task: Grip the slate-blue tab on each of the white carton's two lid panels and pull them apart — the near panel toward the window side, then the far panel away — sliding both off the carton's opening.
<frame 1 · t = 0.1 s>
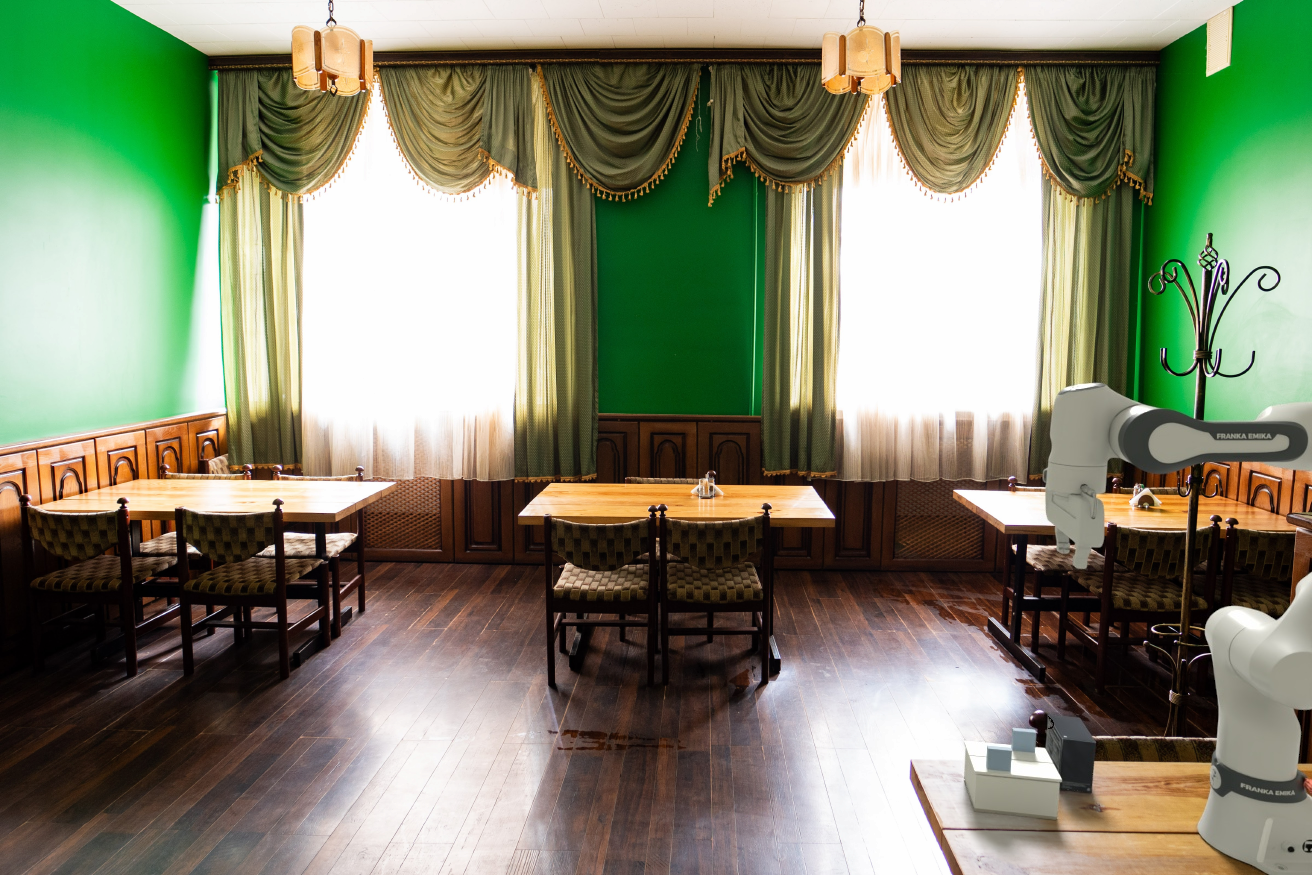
hand: (1070, 559, 139), 48 cm above the table, fingers open, 8 cm apart
lid panel near: (1015, 758, 148), point 10 cm above the table, slide at 0.0 cm
lid panel far: (1007, 742, 154), point 10 cm above the table, slide at 0.0 cm
carton: (1008, 798, 152), on the table
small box: (1067, 778, 159), on the table
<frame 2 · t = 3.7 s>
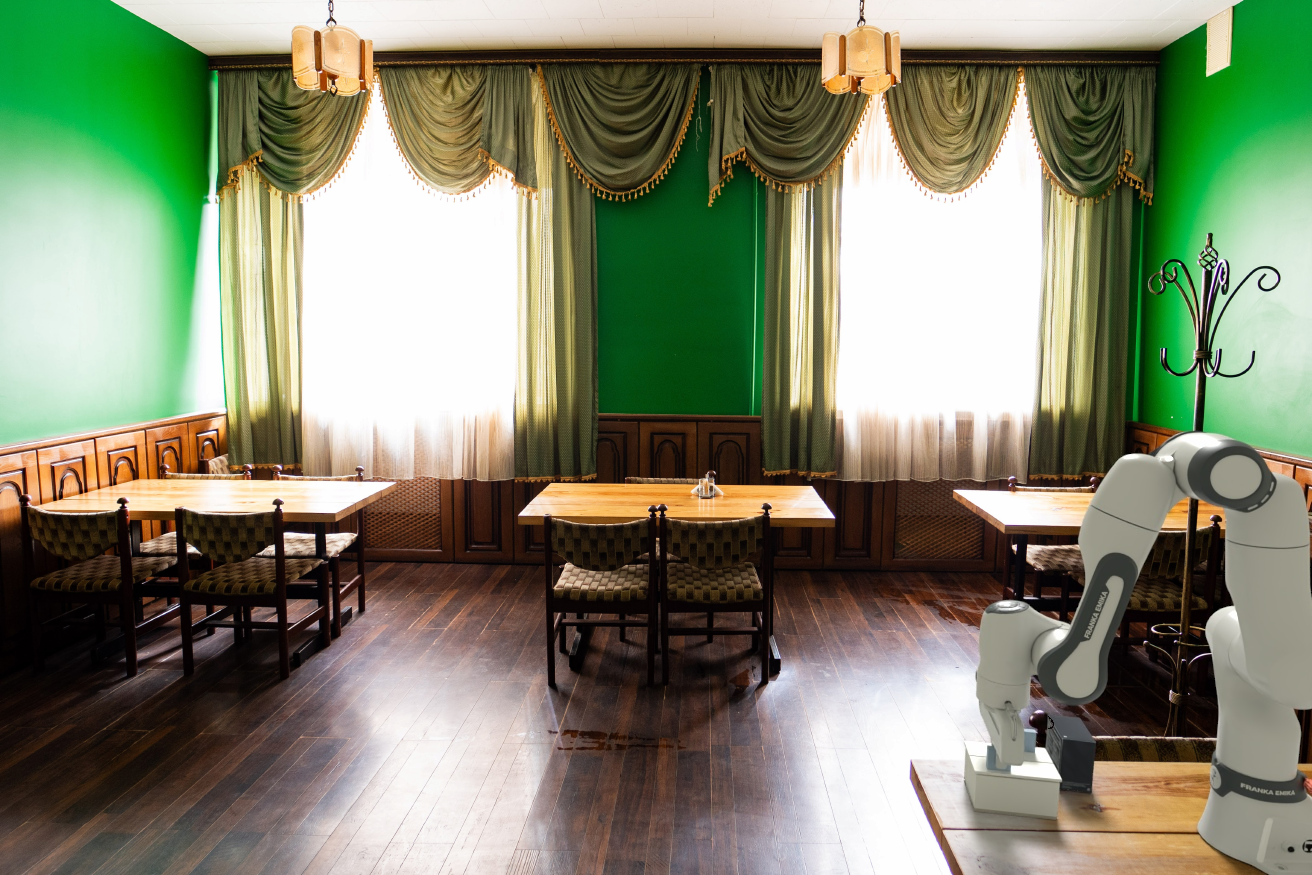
hand: (998, 762, 148), 9 cm above the table, fingers closed on lid panel near
lid panel near: (1015, 758, 148), point 10 cm above the table, slide at 0.0 cm, touching gripper
everything else where it was.
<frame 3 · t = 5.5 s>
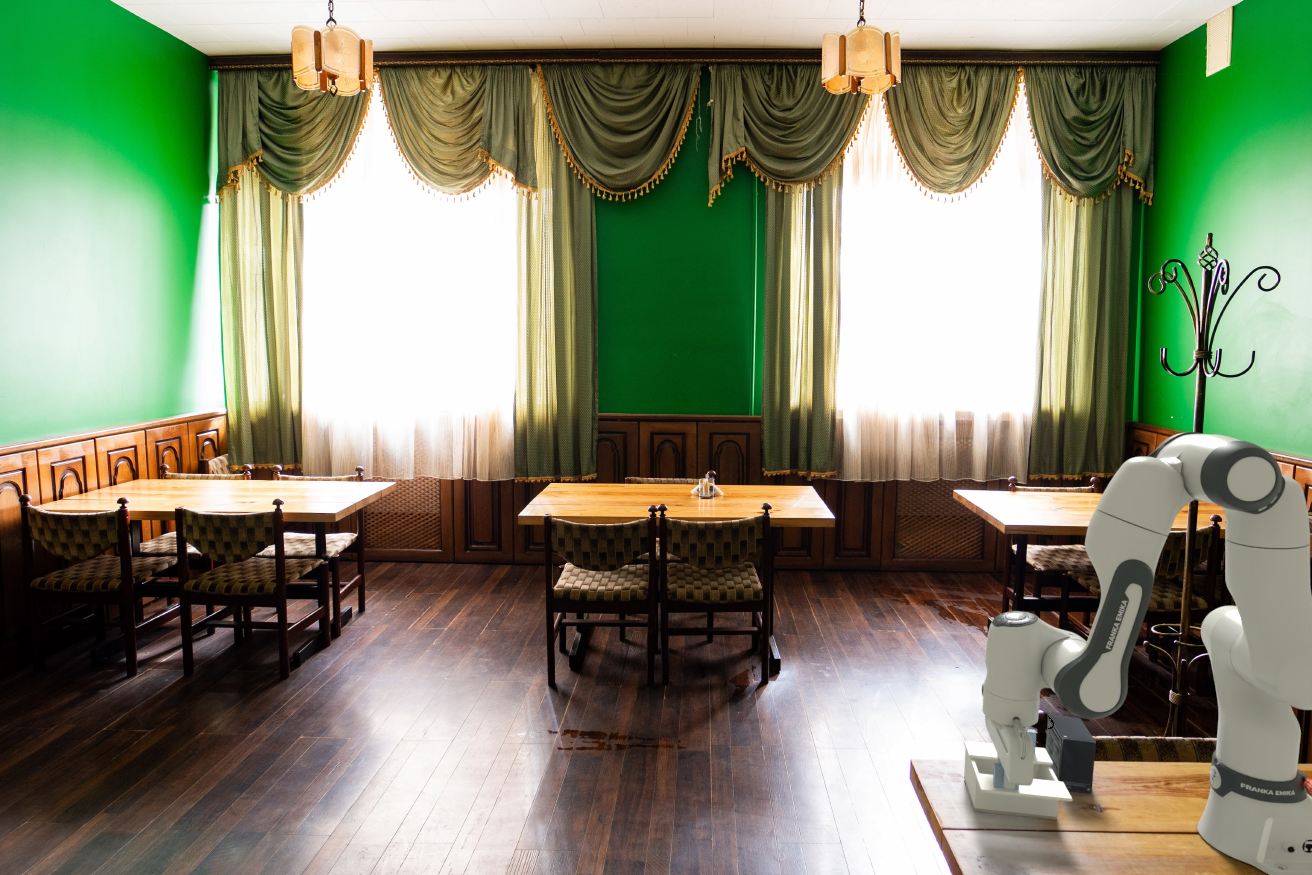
hand: (1006, 781, 142), 9 cm above the table, fingers closed
lid panel near: (1023, 775, 142), point 10 cm above the table, slide at 6.1 cm
everything else where it was.
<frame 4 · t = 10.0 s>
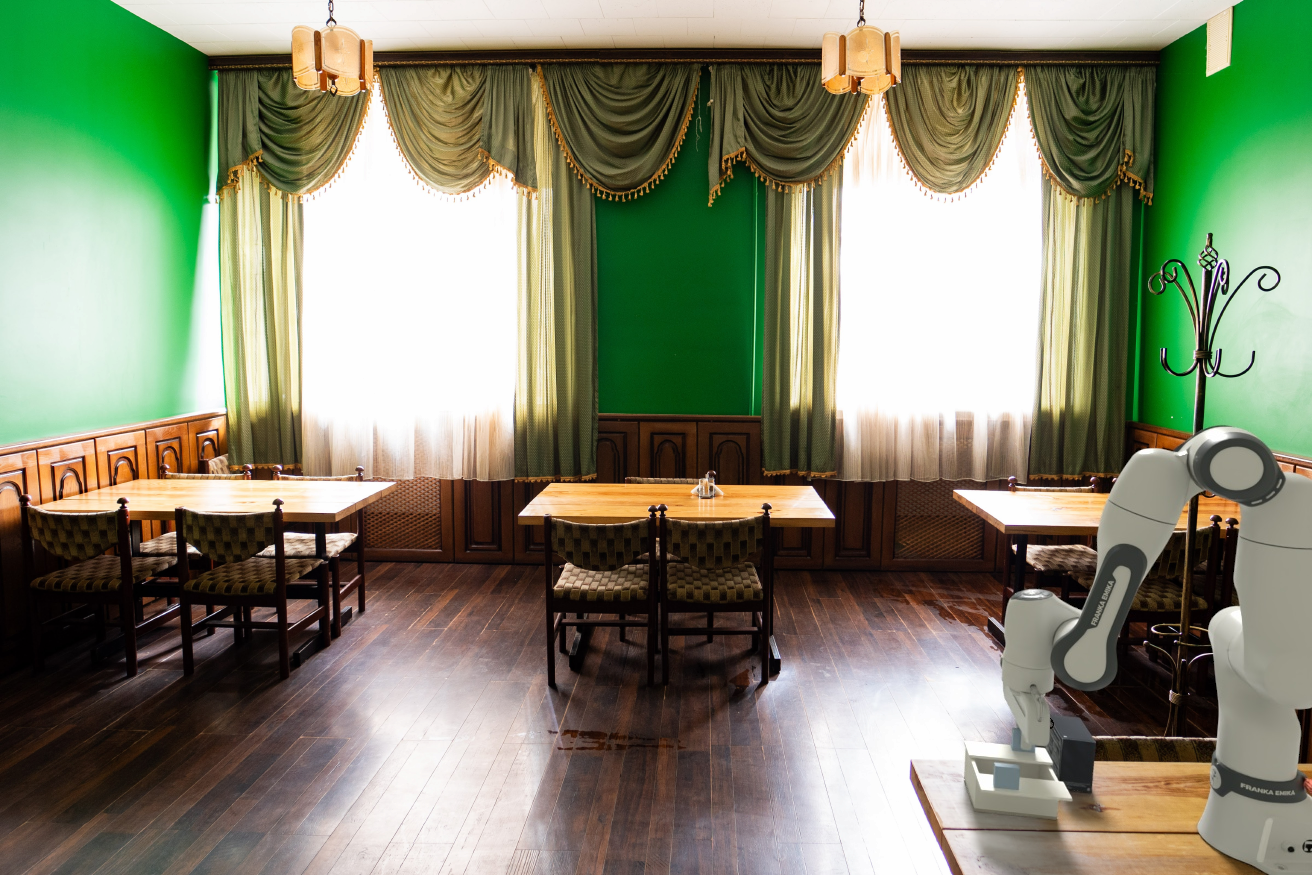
hand: (1023, 744, 154), 9 cm above the table, fingers closed on lid panel far
lid panel far: (1007, 742, 154), point 10 cm above the table, slide at 0.0 cm, touching gripper
everything else where it was.
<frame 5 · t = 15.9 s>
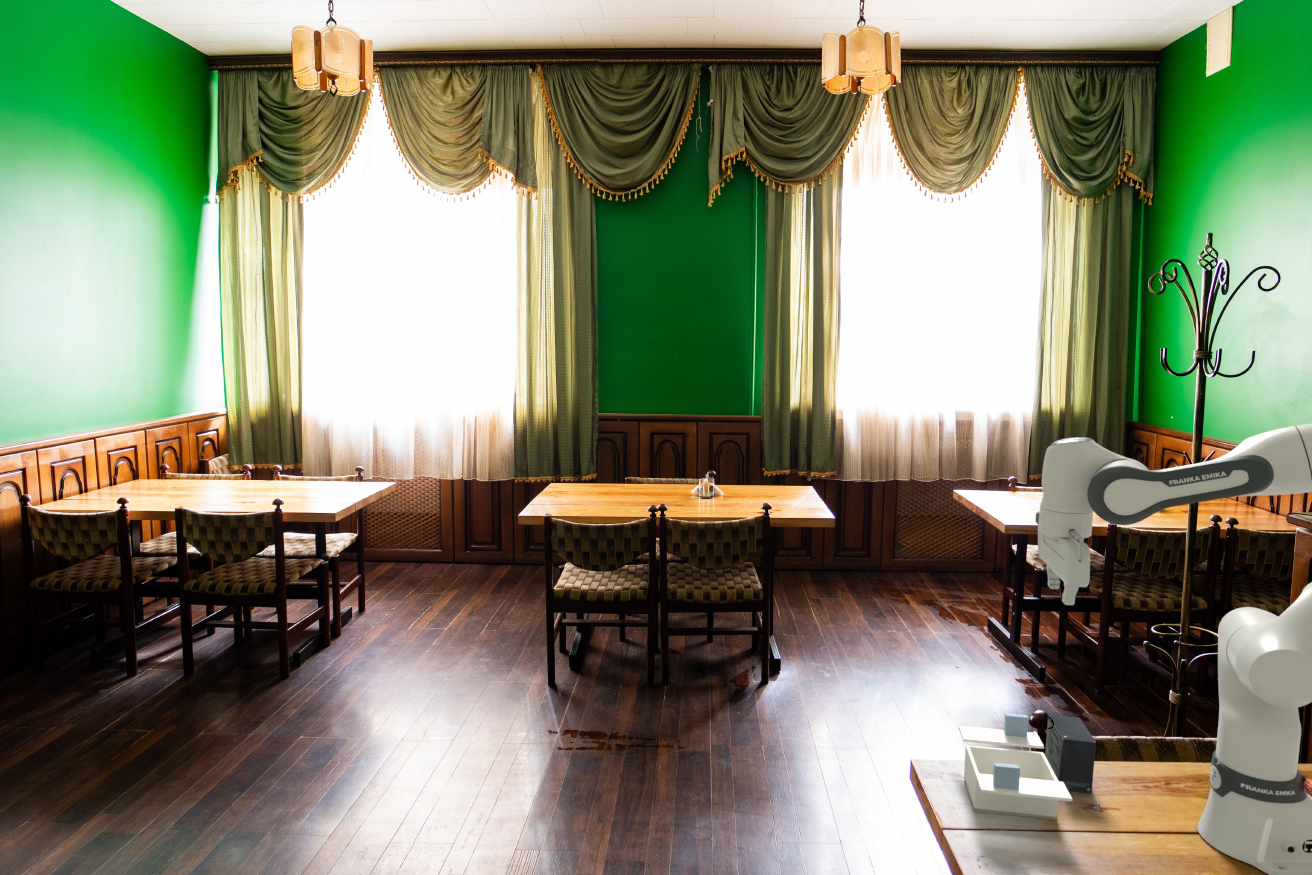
hand: (1060, 595, 153), 37 cm above the table, fingers open, 8 cm apart
lid panel far: (1000, 727, 160), point 10 cm above the table, slide at 6.1 cm
everything else where it was.
at the end: lid panel near slide at 6.1 cm; lid panel far slide at 6.1 cm; the gripper is holding nothing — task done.
